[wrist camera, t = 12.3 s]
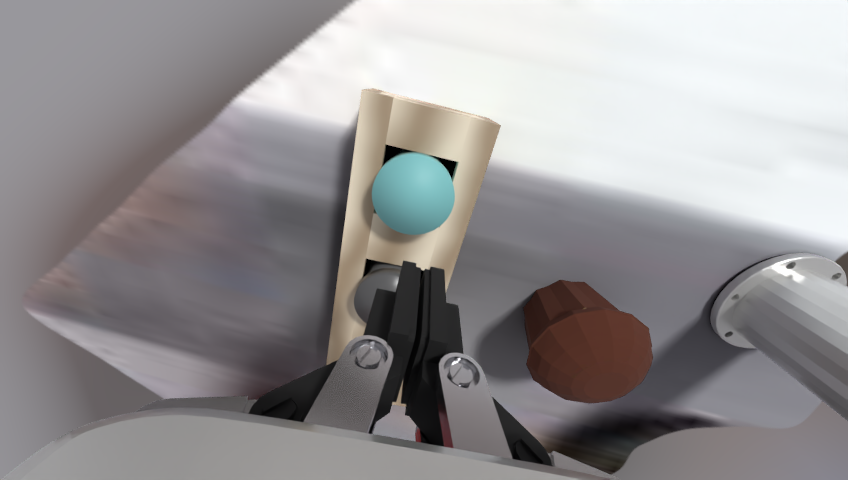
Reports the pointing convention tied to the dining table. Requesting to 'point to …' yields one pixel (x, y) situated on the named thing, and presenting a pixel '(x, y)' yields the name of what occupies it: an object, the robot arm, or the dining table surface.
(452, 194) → the teal knob
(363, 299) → the dark gray knob
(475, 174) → the box
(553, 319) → the muffin
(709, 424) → the dining table surface
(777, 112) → the dining table surface
